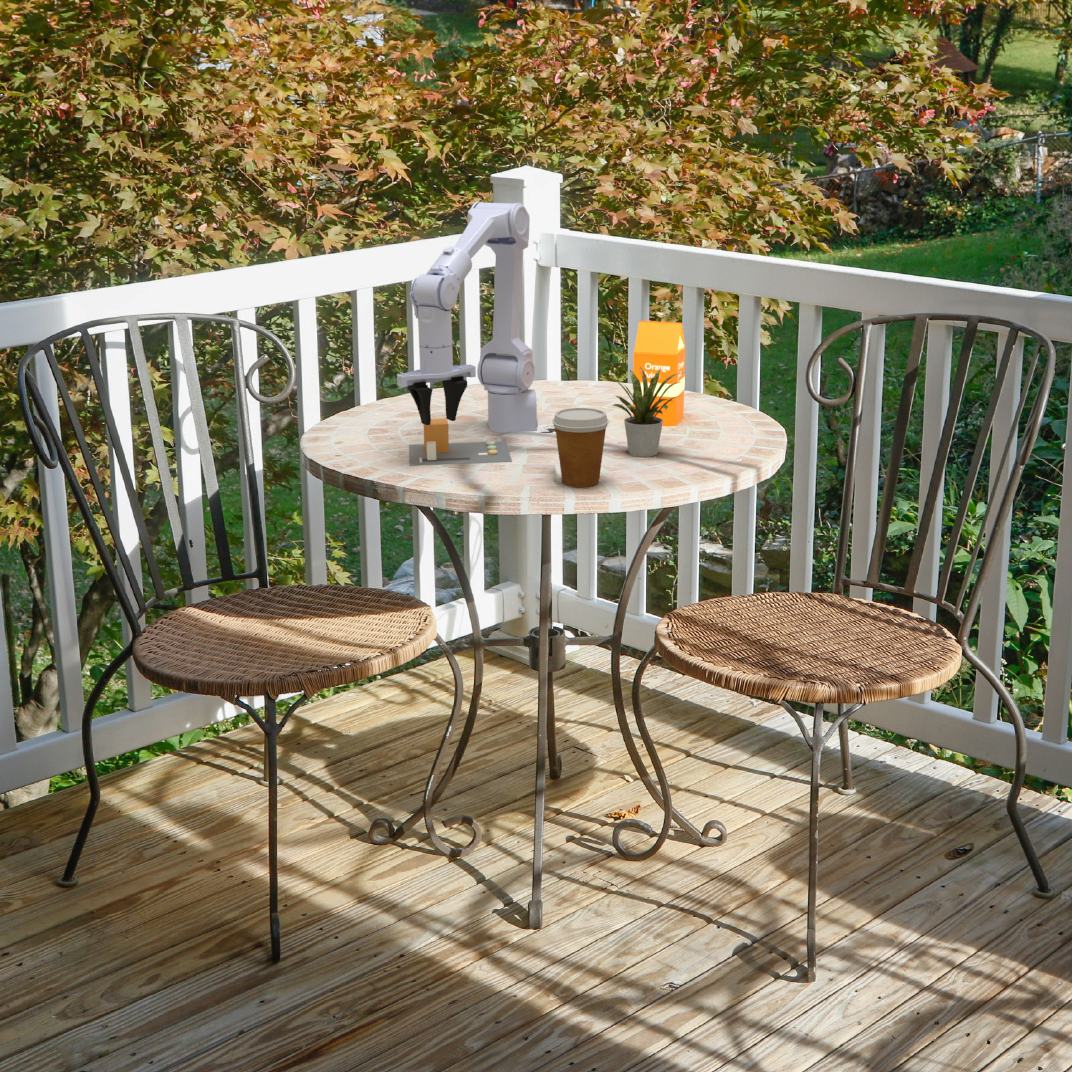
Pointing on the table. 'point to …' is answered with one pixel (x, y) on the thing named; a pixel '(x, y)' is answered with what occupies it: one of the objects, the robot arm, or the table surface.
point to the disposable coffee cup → (580, 444)
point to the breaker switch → (431, 450)
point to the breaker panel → (462, 453)
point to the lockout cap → (437, 434)
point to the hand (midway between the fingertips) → (438, 421)
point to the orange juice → (662, 364)
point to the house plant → (644, 414)
